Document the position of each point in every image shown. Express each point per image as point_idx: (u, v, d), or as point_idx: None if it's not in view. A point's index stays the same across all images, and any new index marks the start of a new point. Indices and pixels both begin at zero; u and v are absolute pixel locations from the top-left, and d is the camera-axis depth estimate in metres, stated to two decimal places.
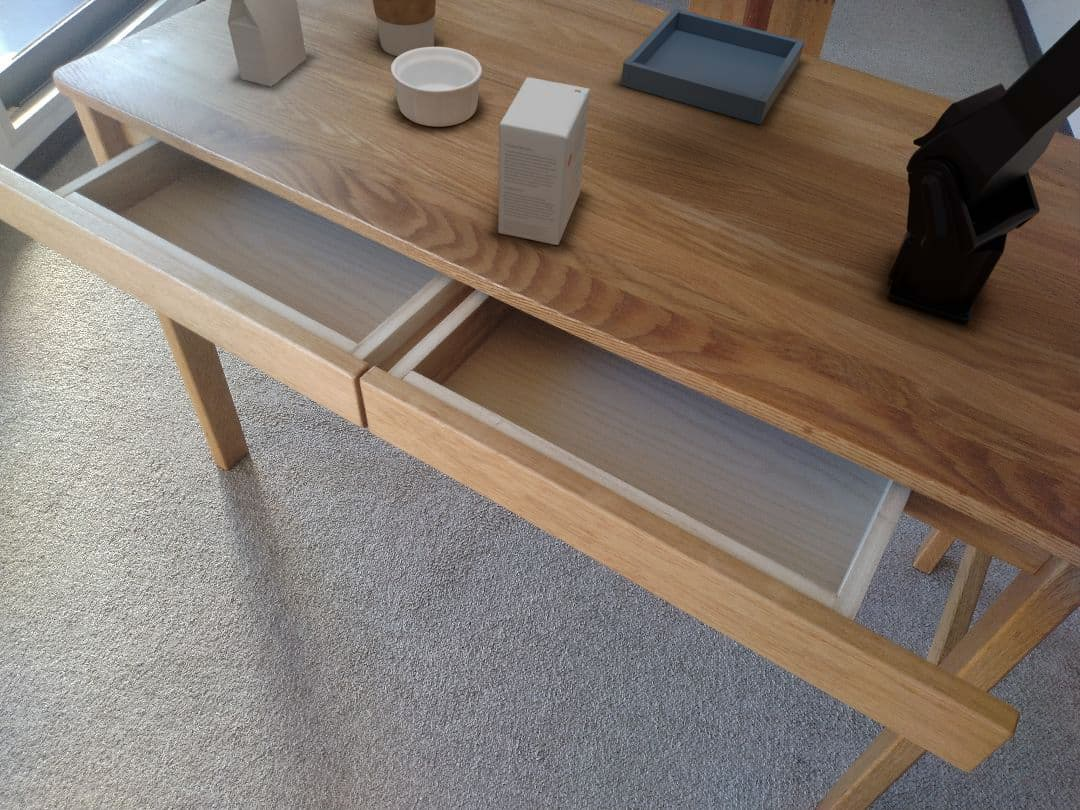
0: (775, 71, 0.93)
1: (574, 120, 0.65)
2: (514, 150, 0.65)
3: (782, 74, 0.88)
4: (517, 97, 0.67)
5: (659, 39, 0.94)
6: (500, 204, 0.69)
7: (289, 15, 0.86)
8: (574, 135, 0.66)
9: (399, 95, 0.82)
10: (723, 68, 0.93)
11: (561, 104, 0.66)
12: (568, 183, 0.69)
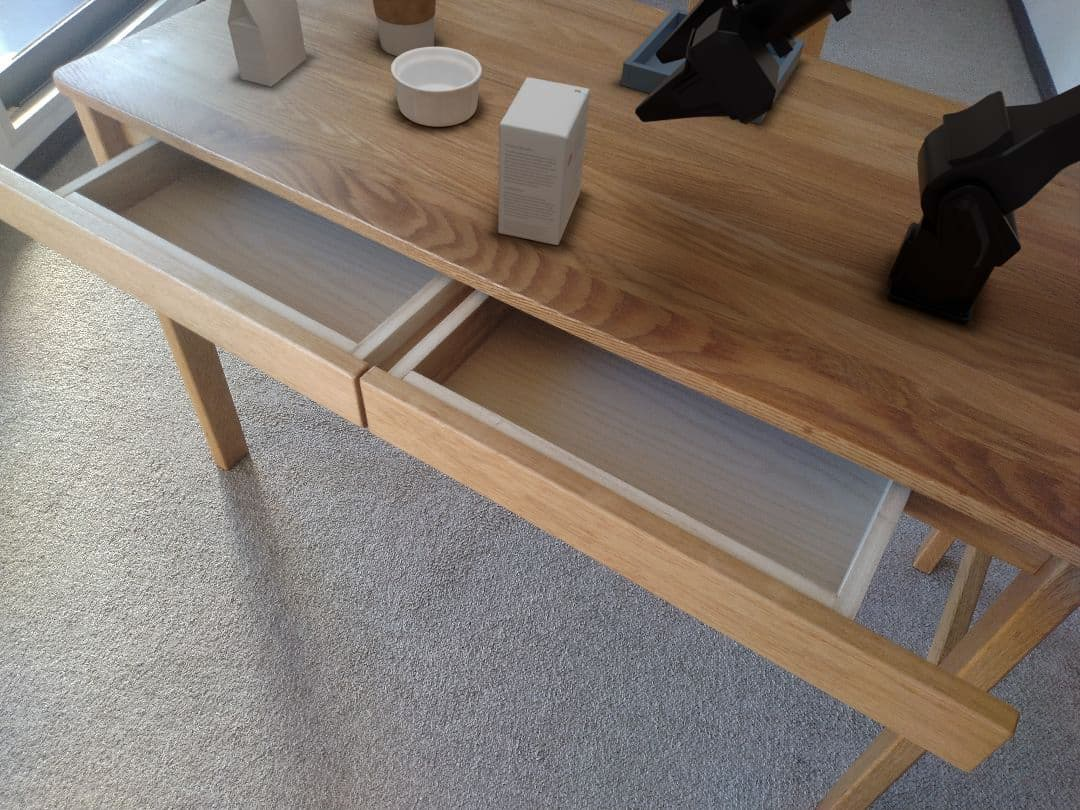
0: None
1: (574, 120, 0.65)
2: (514, 150, 0.65)
3: (782, 74, 0.88)
4: (517, 97, 0.67)
5: (659, 39, 0.94)
6: (500, 204, 0.69)
7: (289, 15, 0.86)
8: (574, 135, 0.66)
9: (399, 95, 0.82)
10: None
11: (561, 104, 0.66)
12: (568, 183, 0.69)
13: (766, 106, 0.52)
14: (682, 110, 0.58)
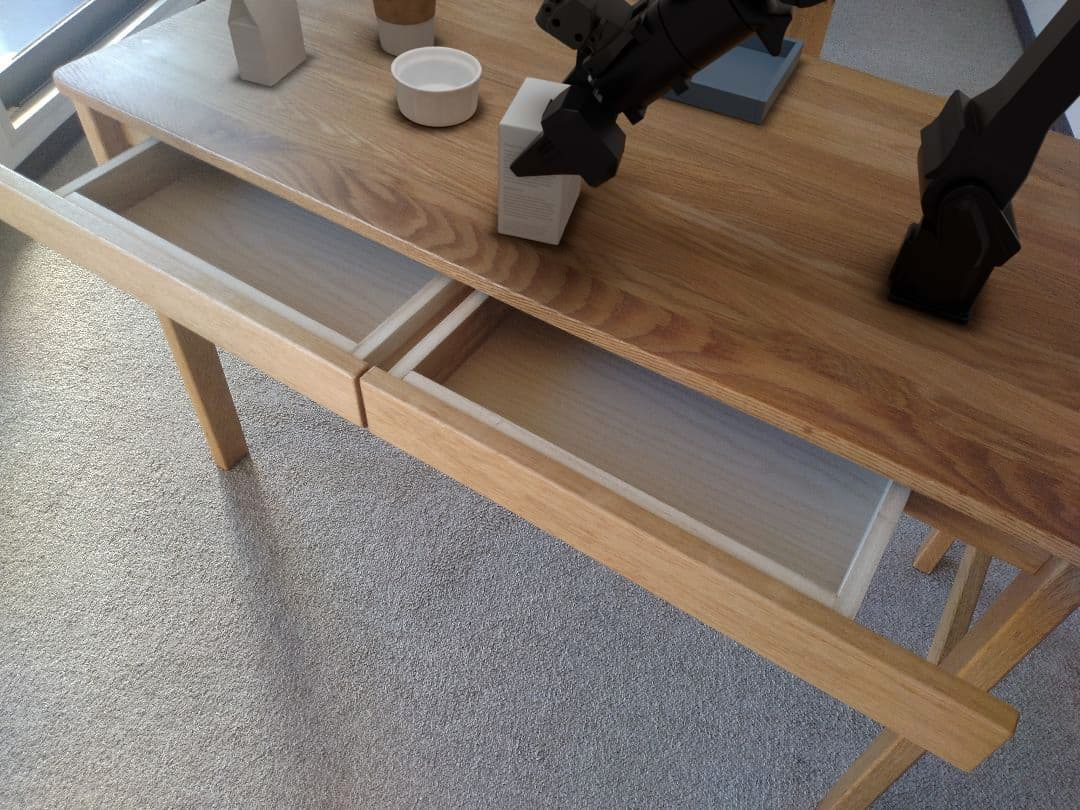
0: (775, 71, 0.93)
1: None
2: (514, 150, 0.65)
3: (782, 74, 0.88)
4: (517, 97, 0.67)
5: None
6: (500, 204, 0.69)
7: (289, 15, 0.86)
8: None
9: (399, 95, 0.82)
10: (723, 68, 0.93)
11: None
12: (568, 183, 0.69)
13: (610, 173, 0.59)
14: (548, 168, 0.64)
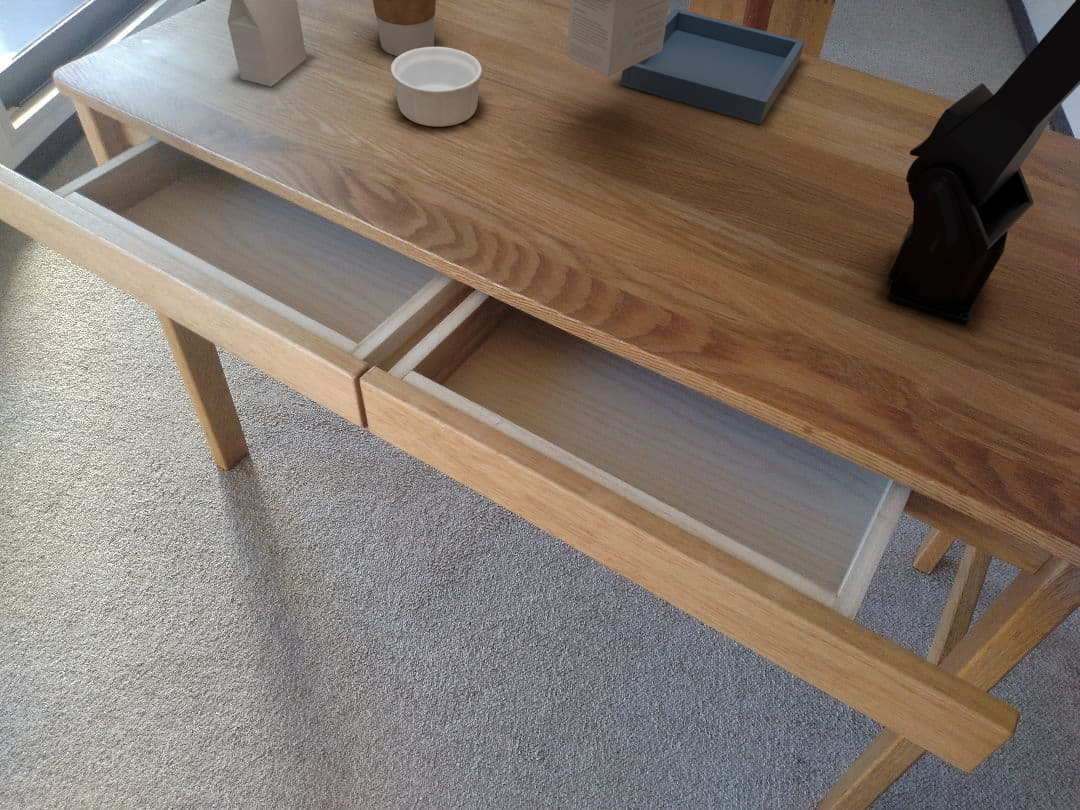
0: (775, 71, 0.93)
1: None
2: None
3: (782, 74, 0.88)
4: None
5: None
6: (569, 25, 0.77)
7: (289, 15, 0.86)
8: None
9: (399, 95, 0.82)
10: (723, 68, 0.93)
11: None
12: (628, 17, 0.74)
13: None
14: None
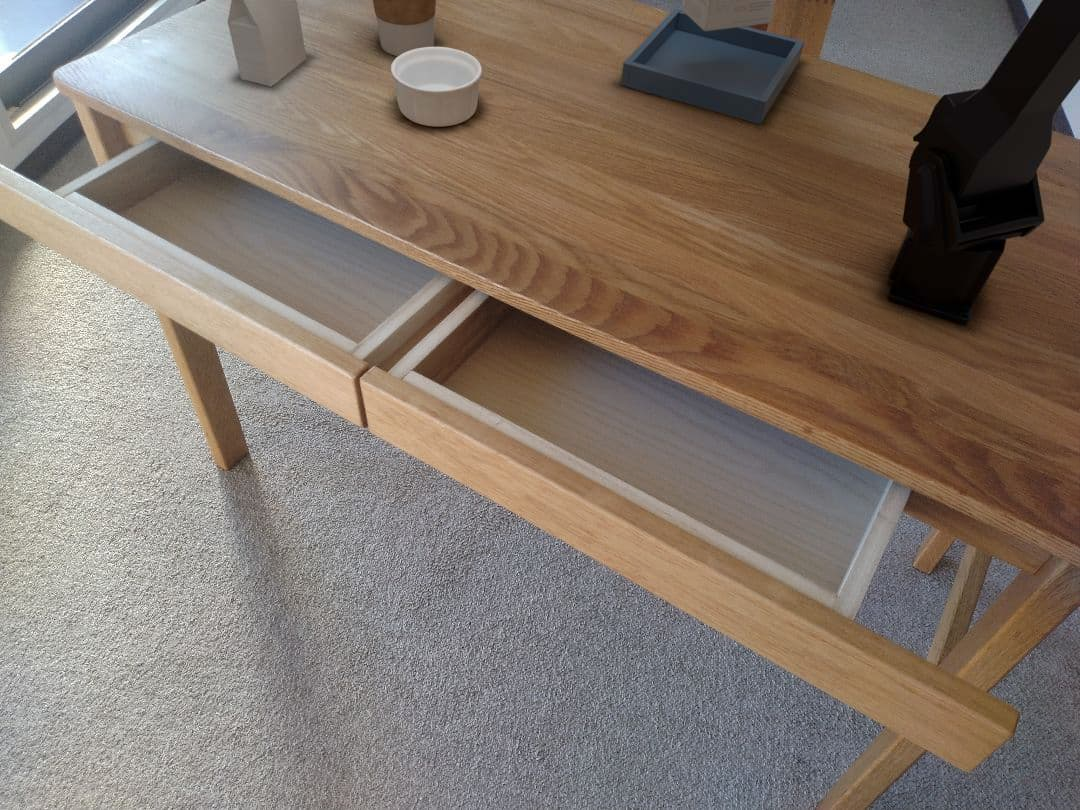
0: (775, 71, 0.93)
1: None
2: None
3: (782, 74, 0.88)
4: None
5: (659, 39, 0.94)
6: None
7: (289, 15, 0.86)
8: None
9: (399, 95, 0.82)
10: (723, 68, 0.93)
11: None
12: None
13: None
14: None
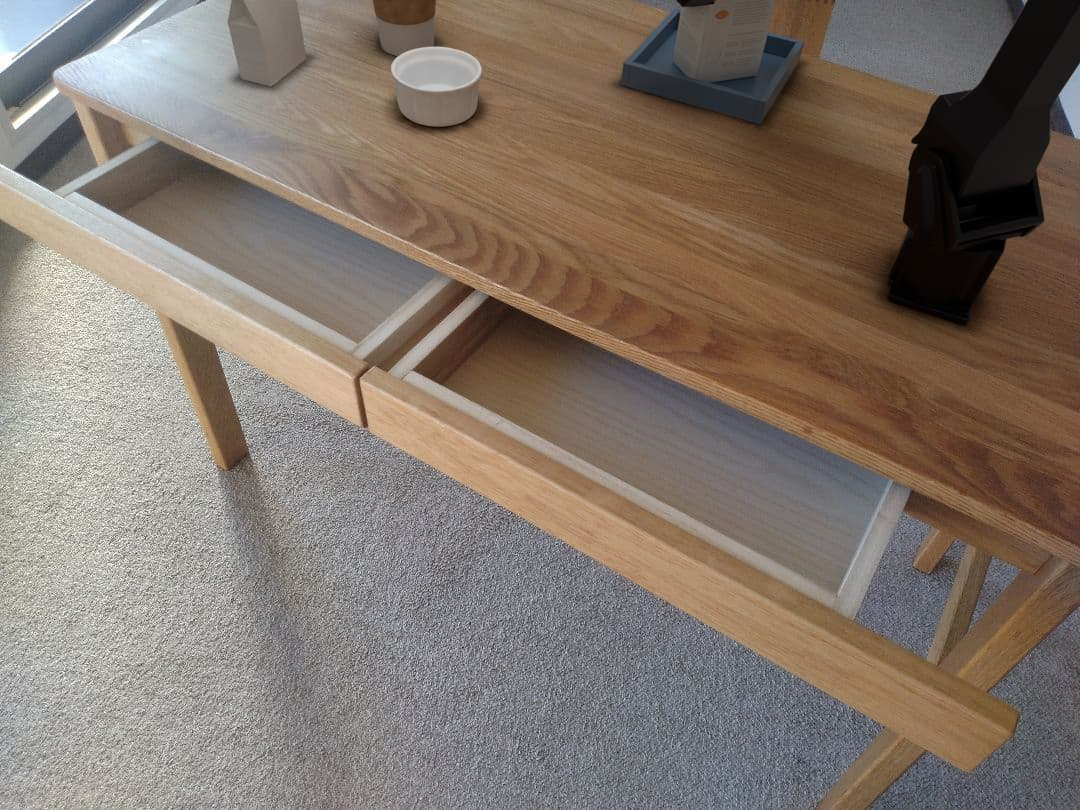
0: (775, 71, 0.93)
1: None
2: None
3: (782, 74, 0.88)
4: None
5: (659, 39, 0.94)
6: (677, 35, 0.90)
7: (289, 15, 0.86)
8: None
9: (399, 95, 0.82)
10: None
11: None
12: (719, 37, 0.86)
13: None
14: None
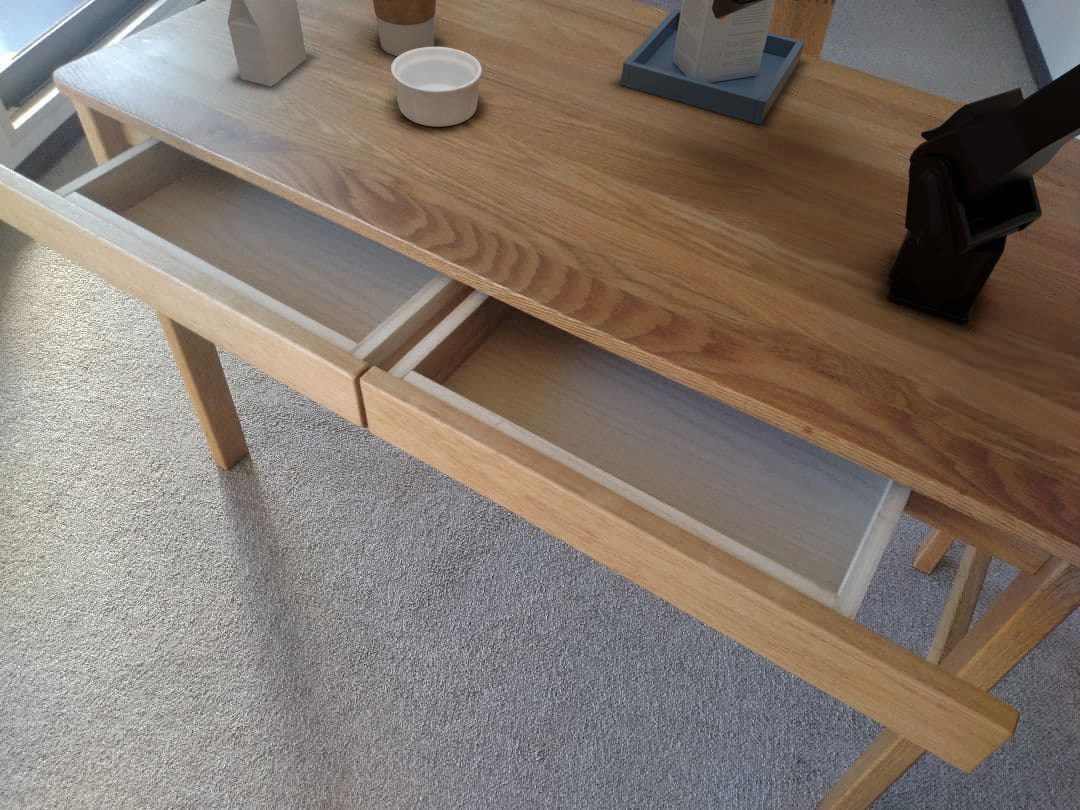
0: (775, 71, 0.93)
1: None
2: None
3: (782, 74, 0.88)
4: None
5: (659, 39, 0.94)
6: (677, 35, 0.90)
7: (288, 15, 0.86)
8: None
9: (399, 95, 0.82)
10: None
11: None
12: (719, 37, 0.86)
13: None
14: (729, 4, 0.71)
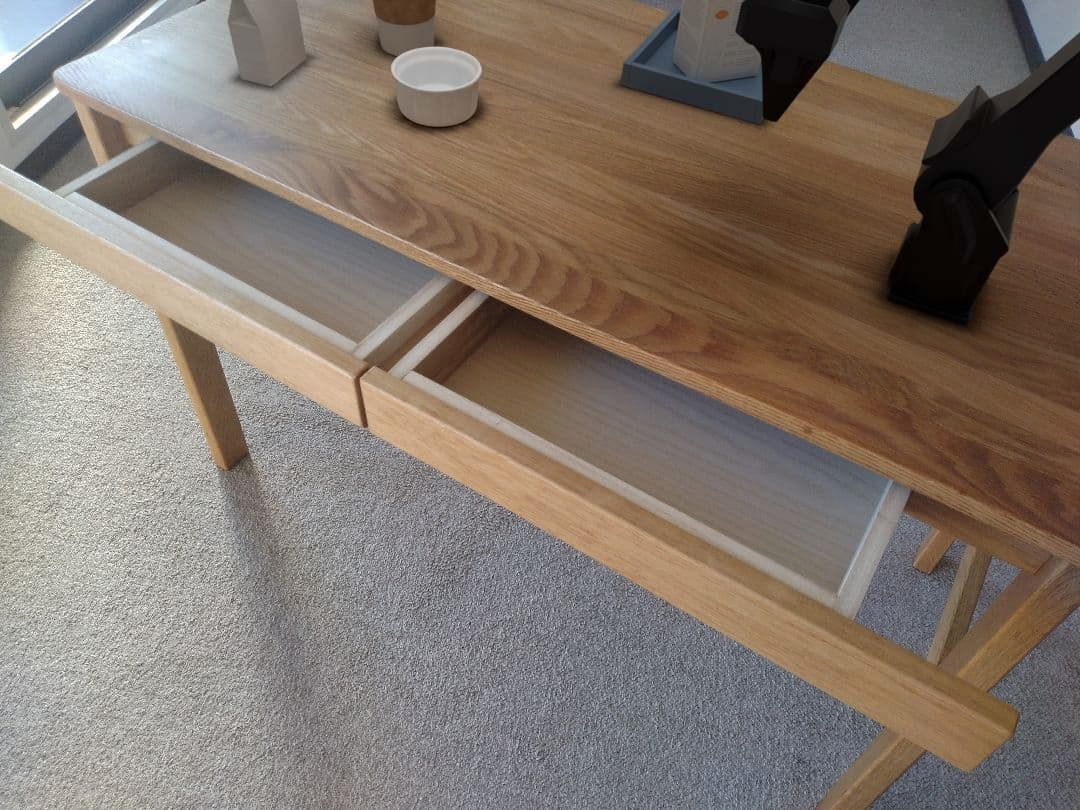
0: None
1: None
2: None
3: None
4: None
5: (659, 39, 0.94)
6: (677, 35, 0.90)
7: (289, 15, 0.86)
8: None
9: (399, 95, 0.82)
10: None
11: None
12: (719, 37, 0.86)
13: (829, 27, 0.51)
14: (792, 88, 0.58)
